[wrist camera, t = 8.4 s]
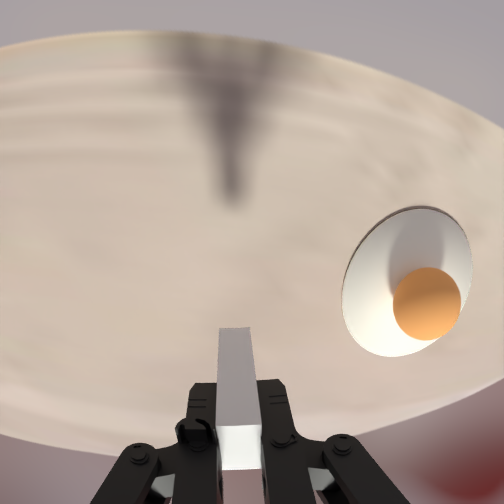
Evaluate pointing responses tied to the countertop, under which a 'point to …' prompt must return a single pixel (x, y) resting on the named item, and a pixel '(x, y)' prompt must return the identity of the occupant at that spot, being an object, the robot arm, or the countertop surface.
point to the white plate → (400, 275)
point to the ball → (426, 303)
